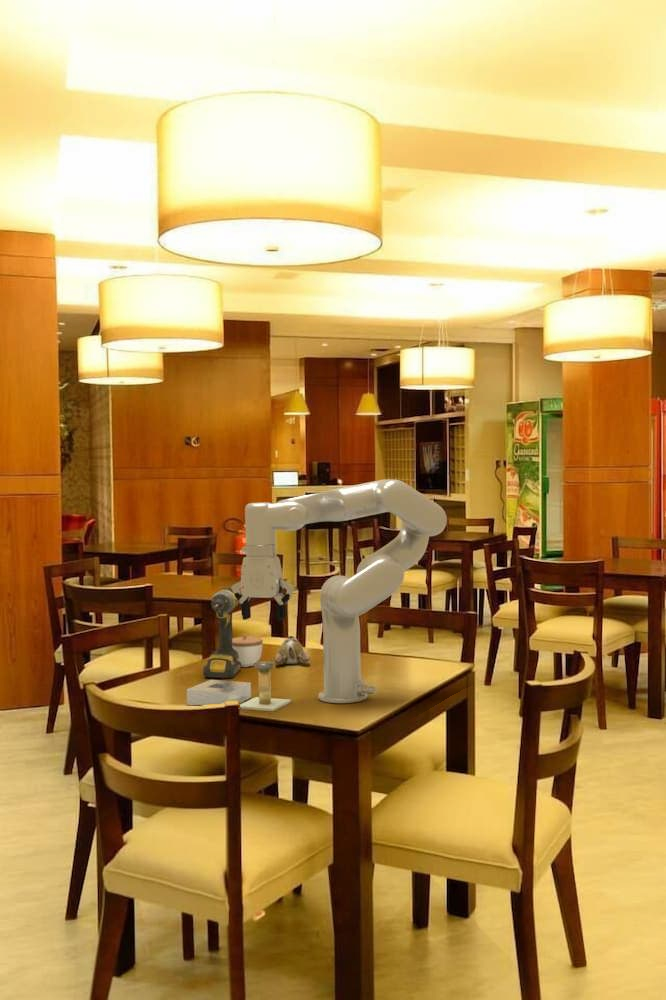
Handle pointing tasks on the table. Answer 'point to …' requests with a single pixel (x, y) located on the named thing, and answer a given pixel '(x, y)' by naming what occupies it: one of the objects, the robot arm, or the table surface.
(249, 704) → the mat
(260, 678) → the metal bolt
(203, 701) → the plate
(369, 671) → the table surface
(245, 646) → the lidded jar
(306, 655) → the ceramic sculpture
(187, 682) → the table surface
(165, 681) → the table surface
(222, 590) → the cordless drill
